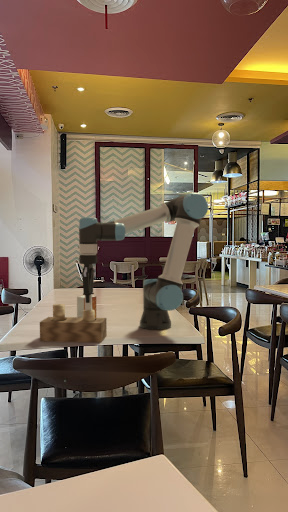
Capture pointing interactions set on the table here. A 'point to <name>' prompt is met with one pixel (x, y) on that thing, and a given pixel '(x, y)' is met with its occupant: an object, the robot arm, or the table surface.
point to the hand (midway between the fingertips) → (88, 310)
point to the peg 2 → (88, 315)
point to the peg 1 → (59, 312)
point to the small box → (82, 305)
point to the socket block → (73, 330)
